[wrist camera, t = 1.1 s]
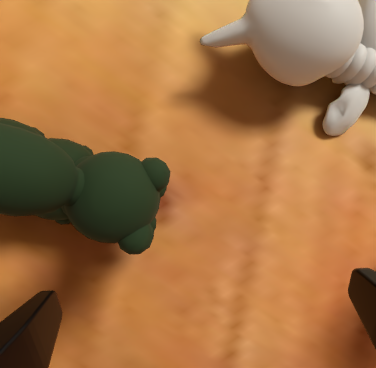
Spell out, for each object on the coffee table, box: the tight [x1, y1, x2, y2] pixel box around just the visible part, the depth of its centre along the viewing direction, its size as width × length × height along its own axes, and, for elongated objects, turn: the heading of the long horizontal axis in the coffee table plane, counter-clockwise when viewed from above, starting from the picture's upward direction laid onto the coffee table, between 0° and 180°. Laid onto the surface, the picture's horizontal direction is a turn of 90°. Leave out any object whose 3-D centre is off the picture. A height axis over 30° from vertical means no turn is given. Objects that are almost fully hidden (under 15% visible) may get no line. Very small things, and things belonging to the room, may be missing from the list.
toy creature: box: [200, 0, 376, 136], centre depth 22 cm, size 13×7×20 cm
